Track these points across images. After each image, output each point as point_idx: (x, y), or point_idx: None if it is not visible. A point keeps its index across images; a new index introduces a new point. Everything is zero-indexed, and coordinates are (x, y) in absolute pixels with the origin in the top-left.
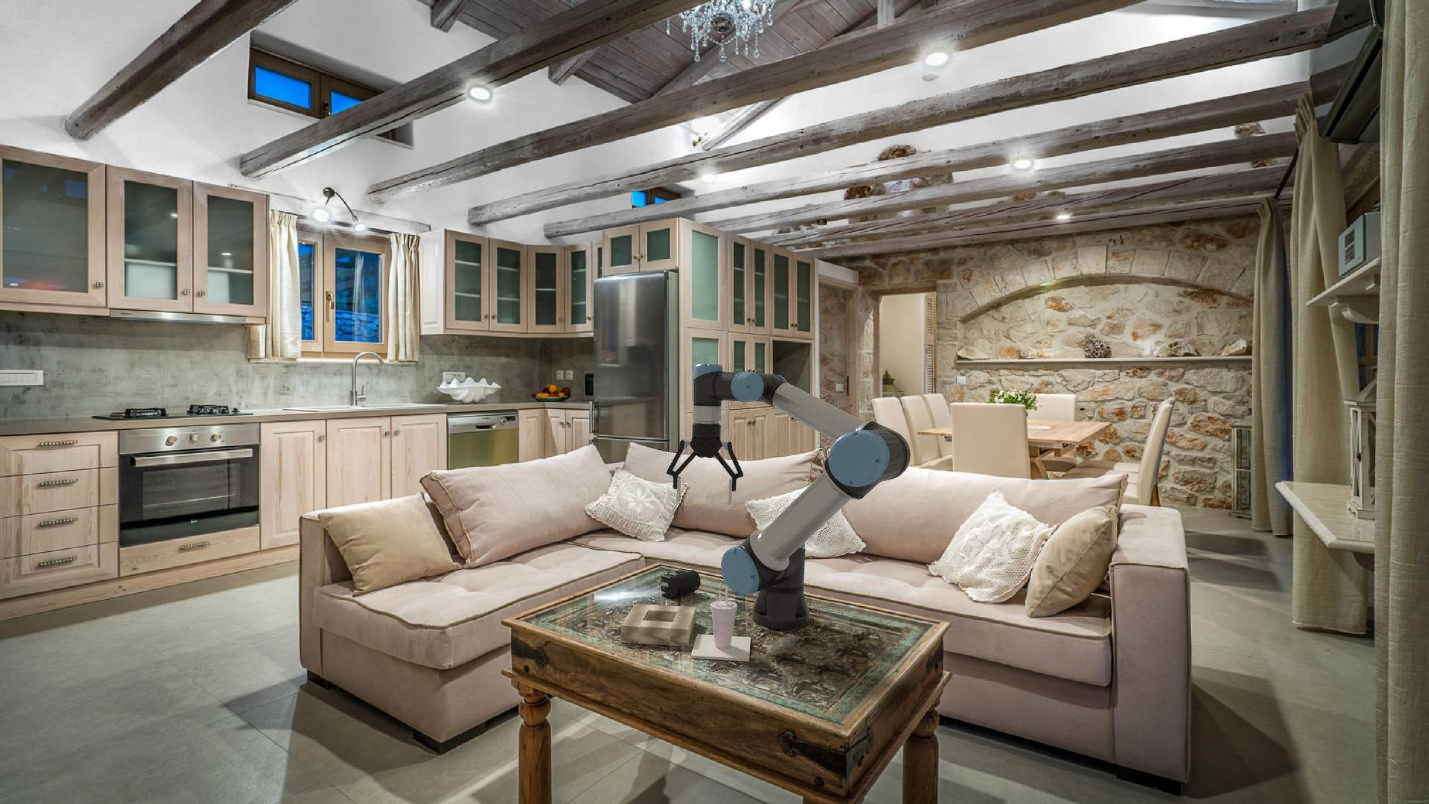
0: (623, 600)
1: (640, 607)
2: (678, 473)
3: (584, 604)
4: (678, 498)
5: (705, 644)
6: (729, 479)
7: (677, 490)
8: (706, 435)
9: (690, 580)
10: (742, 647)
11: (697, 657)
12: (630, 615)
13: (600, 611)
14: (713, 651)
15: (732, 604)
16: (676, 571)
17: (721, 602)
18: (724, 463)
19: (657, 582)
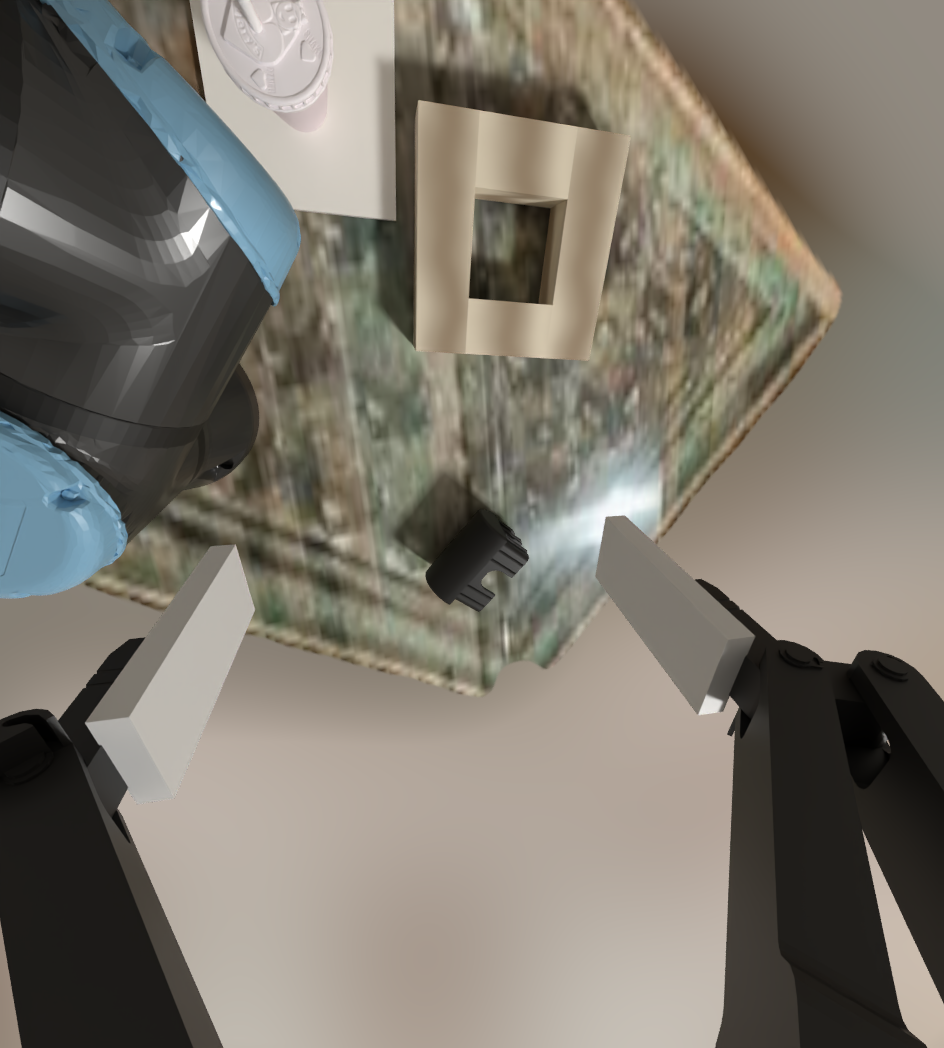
0: (598, 487)
1: (574, 328)
2: (781, 678)
3: (684, 446)
4: (627, 531)
5: (359, 114)
6: (131, 729)
7: (670, 561)
8: None
9: (451, 557)
10: (229, 85)
11: None
12: (601, 246)
13: (651, 403)
14: None
15: (226, 23)
16: (492, 595)
17: (286, 74)
18: (74, 1030)
19: (526, 614)
